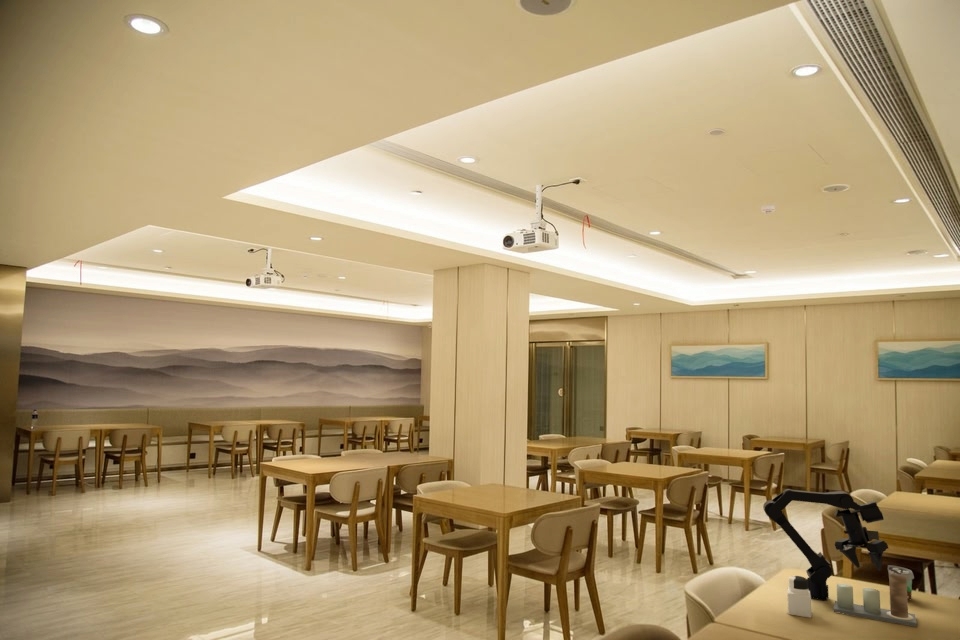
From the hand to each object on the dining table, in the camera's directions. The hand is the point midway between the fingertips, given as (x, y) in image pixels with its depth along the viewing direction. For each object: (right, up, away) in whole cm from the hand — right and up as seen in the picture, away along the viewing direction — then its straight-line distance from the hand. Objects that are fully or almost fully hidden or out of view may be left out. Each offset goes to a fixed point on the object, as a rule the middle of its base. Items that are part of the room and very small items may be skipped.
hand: (869, 568), depth 232 cm
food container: (+18, -14, +7) cm, 23 cm away
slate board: (-7, -11, -13) cm, 18 cm away
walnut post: (0, -9, -17) cm, 19 cm away
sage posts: (-10, -10, -11) cm, 18 cm away
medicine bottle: (-32, -11, -13) cm, 36 cm away
